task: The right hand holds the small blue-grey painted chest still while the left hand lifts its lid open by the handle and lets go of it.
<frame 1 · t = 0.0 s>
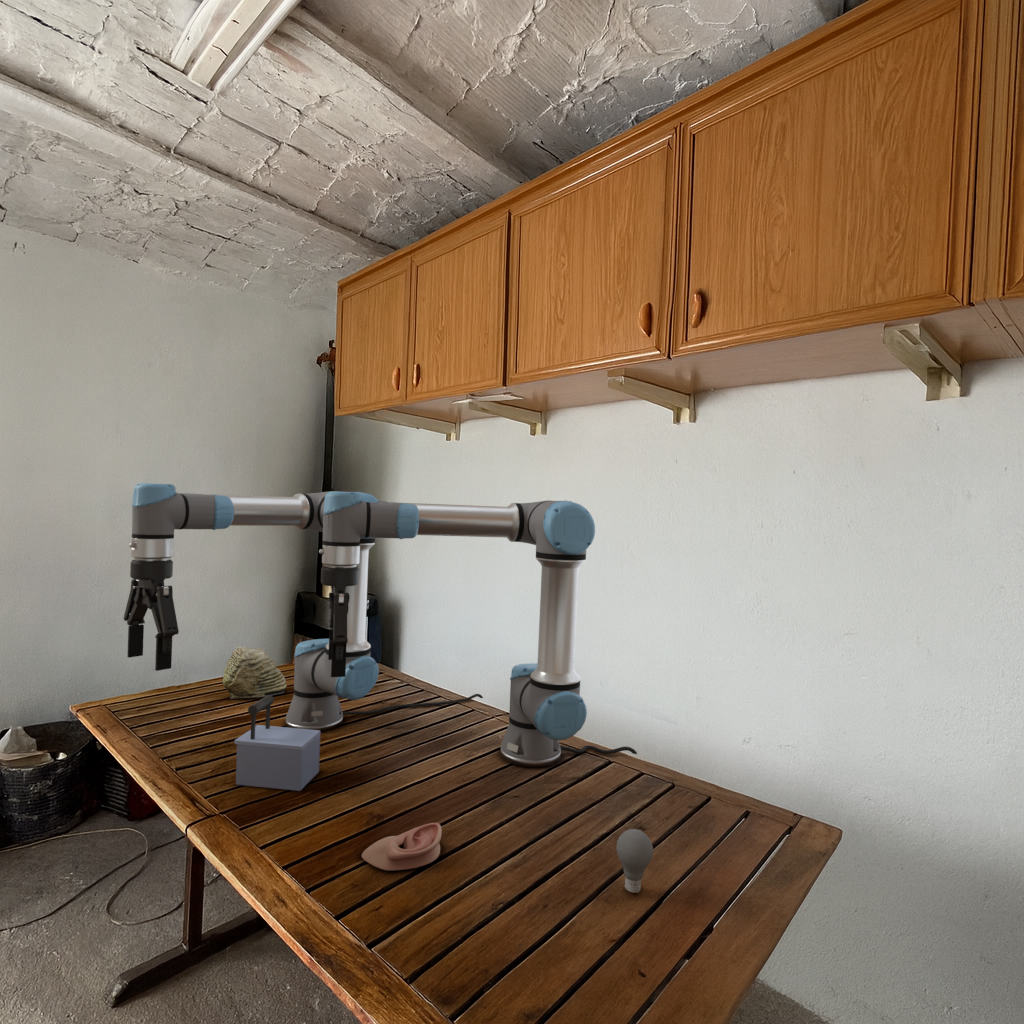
left hand: (148, 662, 129), 28 cm above the table, tool pointing down, fingers open, 13 cm apart
right hand: (336, 667, 132), 28 cm above the table, tool pointing down, fingers open, 13 cm apart
fossil: (254, 694, 198), on the table
lid: (279, 720, 141), point 13 cm above the table, hinge at 0.0°
anatomical model: (402, 854, 114), on the table
light bulb: (632, 891, 106), on the table
chest: (278, 778, 142), on the table
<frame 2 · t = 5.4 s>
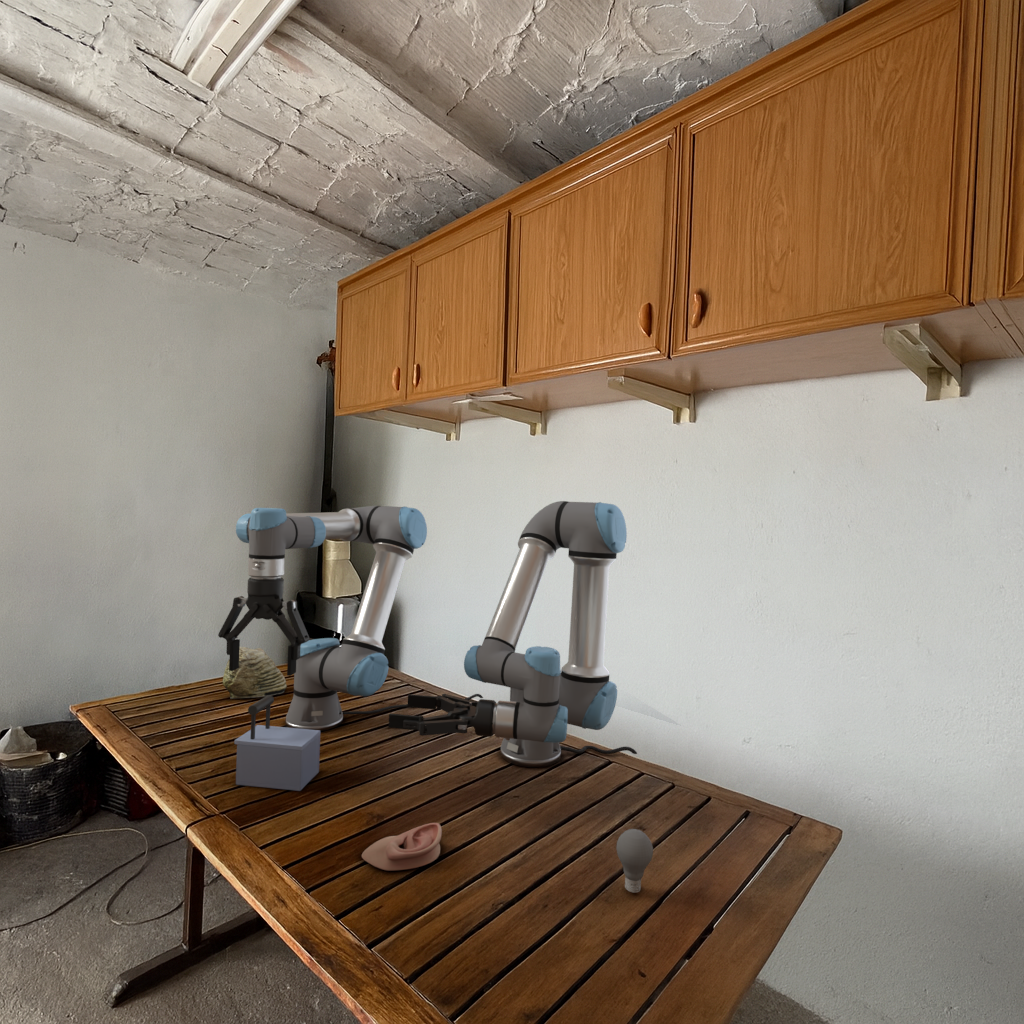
left hand: (262, 671, 142), 24 cm above the table, tool pointing down, fingers open, 13 cm apart
right hand: (399, 710, 138), 18 cm above the table, tool horizontal, fingers open, 13 cm apart
nothing on the table moved.
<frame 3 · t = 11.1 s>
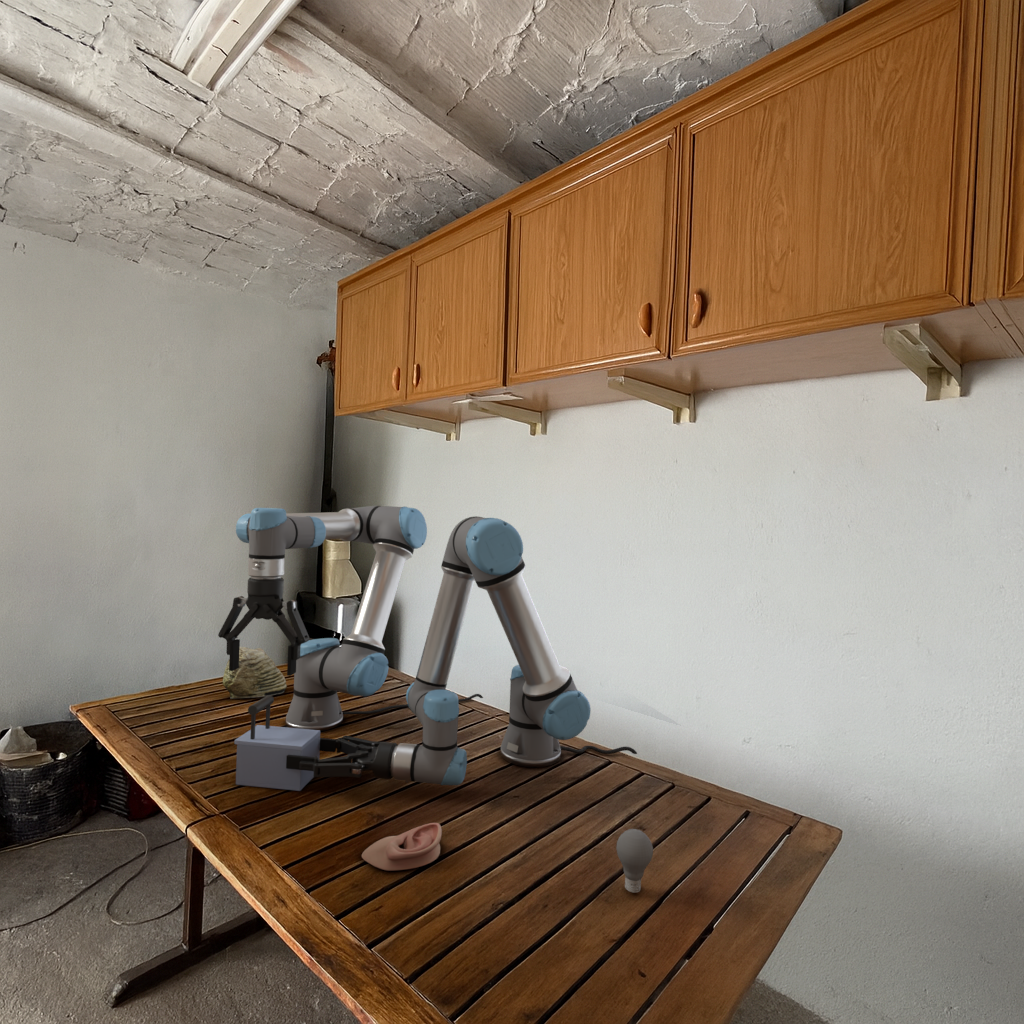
left hand: (262, 671, 142), 24 cm above the table, tool pointing down, fingers open, 13 cm apart
right hand: (298, 752, 141), 6 cm above the table, tool horizontal, fingers closed on chest, 10 cm apart
chest: (278, 778, 142), on the table, touching right hand
everything else where it was.
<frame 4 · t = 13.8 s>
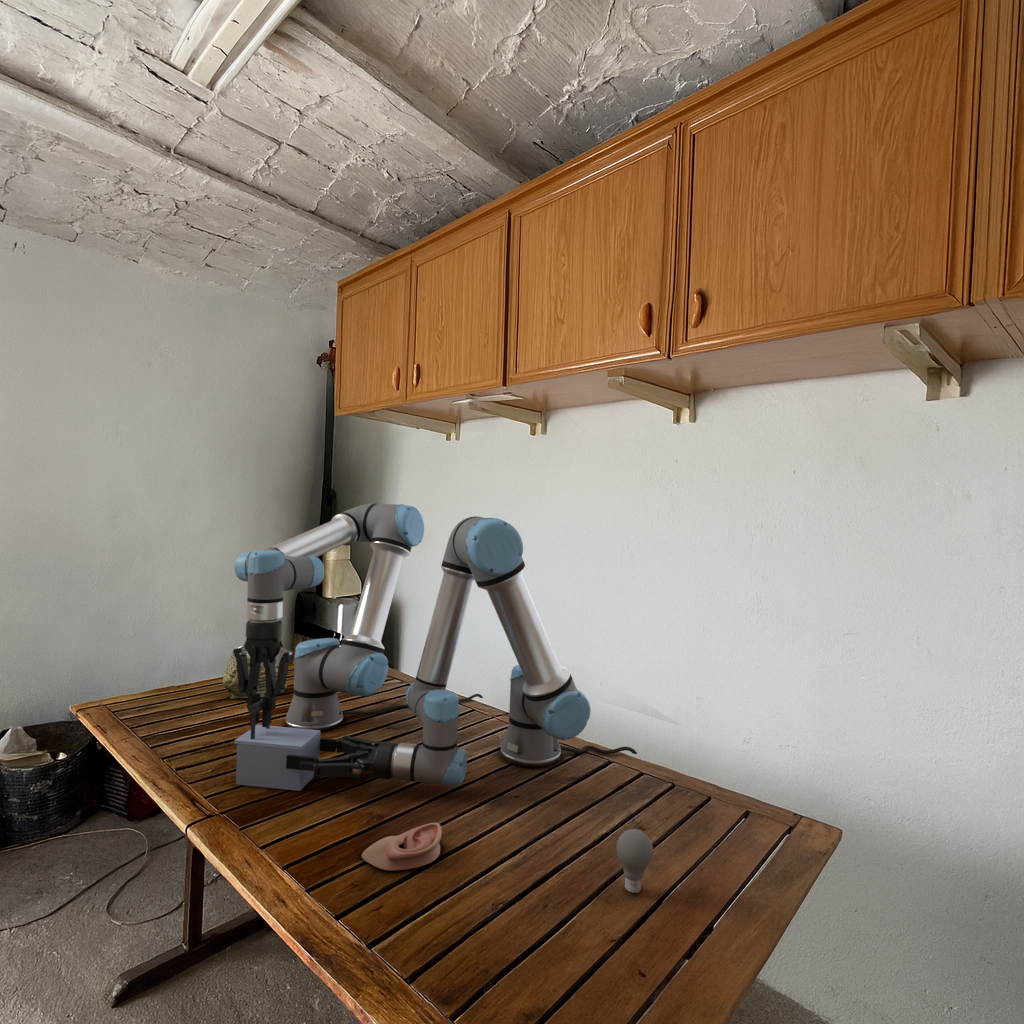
left hand: (260, 724, 142), 12 cm above the table, tool pointing down, fingers closed on lid, 2 cm apart
right hand: (298, 752, 141), 6 cm above the table, tool horizontal, fingers closed on chest, 10 cm apart
lid: (279, 720, 141), point 13 cm above the table, hinge at 0.2°, touching left hand
chest: (278, 778, 142), on the table, touching right hand
everything else where it was.
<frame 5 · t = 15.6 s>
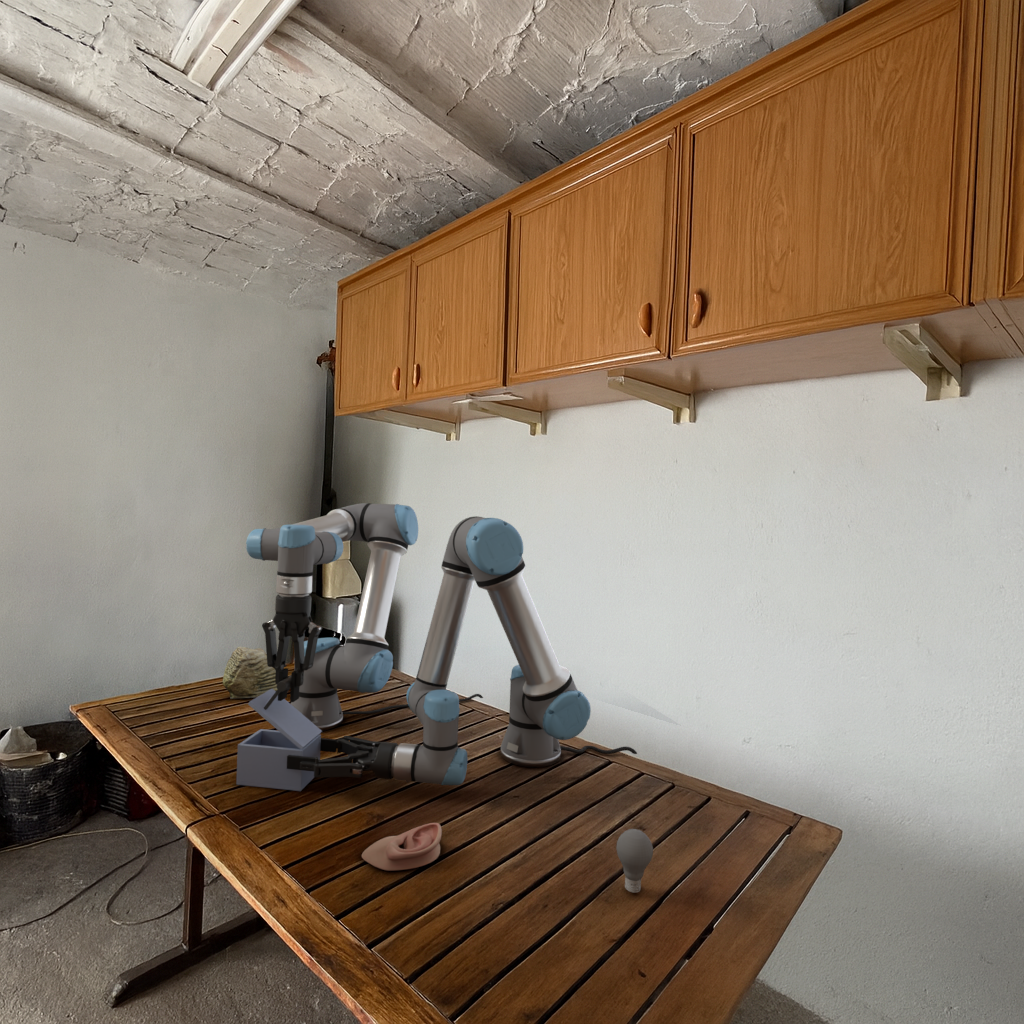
left hand: (288, 699, 141), 18 cm above the table, tool pointing down, fingers closed on lid, 2 cm apart
right hand: (298, 752, 141), 6 cm above the table, tool horizontal, fingers closed on chest, 10 cm apart
lid: (295, 705, 141), point 17 cm above the table, hinge at 35.5°, touching left hand
chest: (279, 778, 142), on the table, touching right hand
everything else where it was.
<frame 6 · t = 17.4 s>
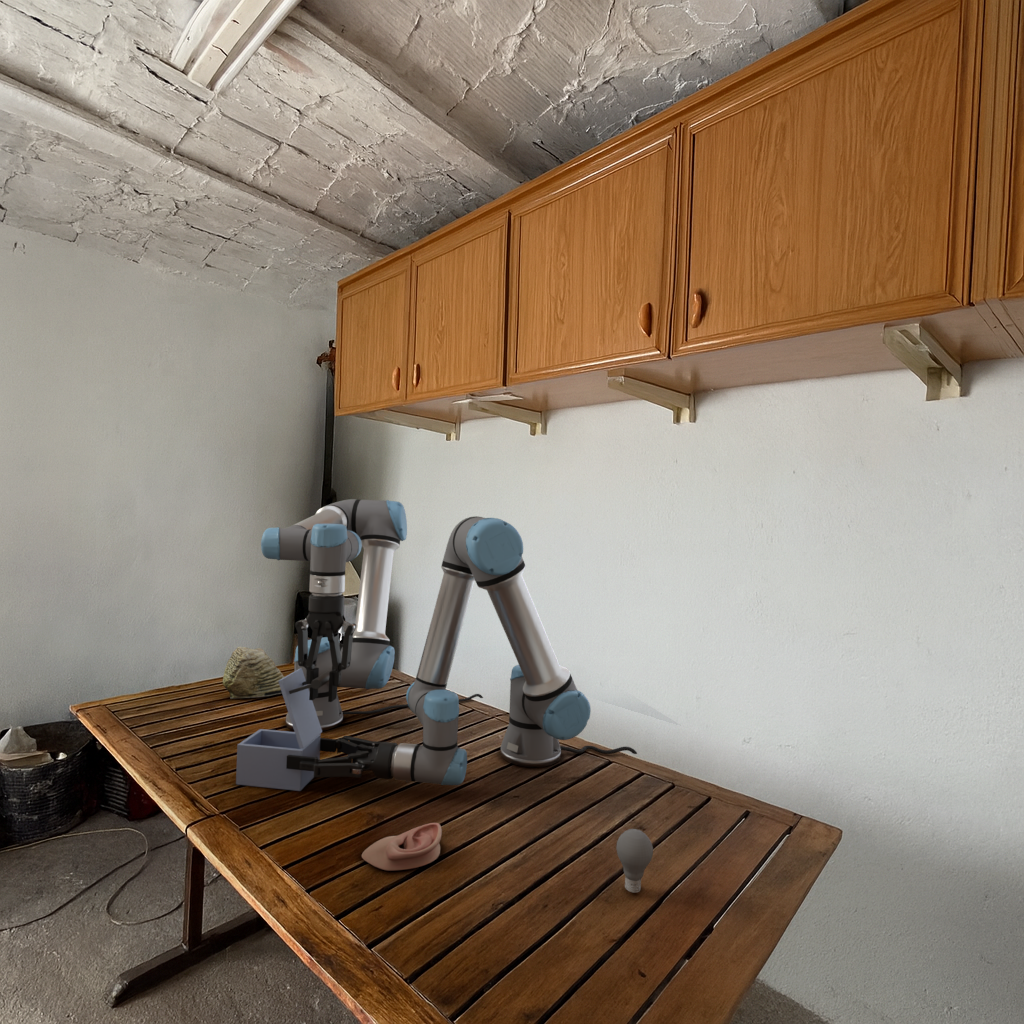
left hand: (322, 698, 140), 19 cm above the table, tool pointing down, fingers open, 4 cm apart
right hand: (298, 752, 141), 6 cm above the table, tool horizontal, fingers closed on chest, 10 cm apart
lid: (316, 702, 140), point 18 cm above the table, hinge at 68.6°
chest: (278, 778, 142), on the table, touching right hand
everything else where it was.
when the right hand's fingers open (6 cm above the table, at t = 21.1 s): chest stays where it is, on the table.
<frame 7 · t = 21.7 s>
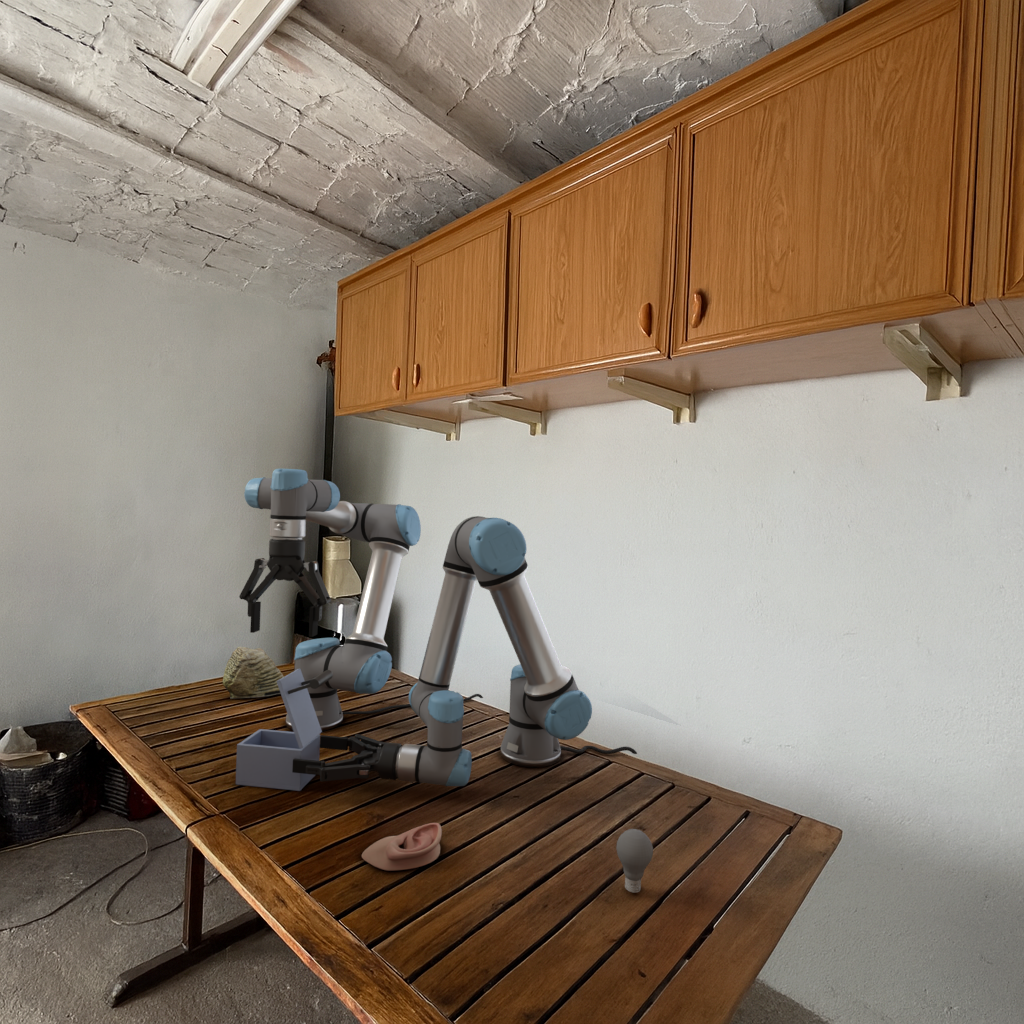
left hand: (283, 633, 141), 32 cm above the table, tool pointing down, fingers open, 13 cm apart
right hand: (307, 752, 141), 6 cm above the table, tool horizontal, fingers open, 13 cm apart
lid: (315, 702, 140), point 18 cm above the table, hinge at 67.8°
chest: (278, 778, 142), on the table
everything else where it was.
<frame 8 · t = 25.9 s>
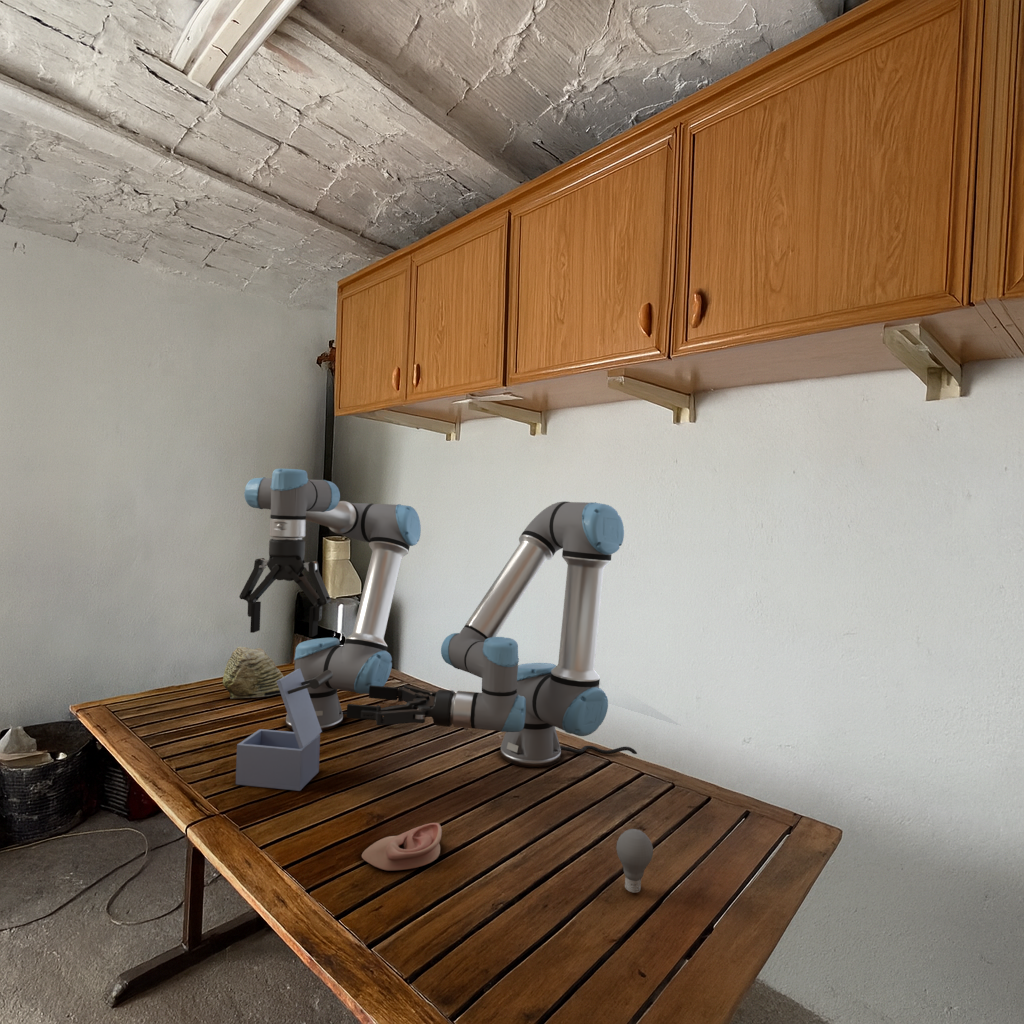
left hand: (283, 633, 141), 32 cm above the table, tool pointing down, fingers open, 13 cm apart
right hand: (358, 700, 139), 19 cm above the table, tool horizontal, fingers open, 13 cm apart
nothing on the table moved.
at the end: lid at +68° (first picture: +0°); the left hand is holding nothing; the right hand is holding nothing; chest tilted 0°; chest never tilted more than 1° during the clip; chest moved 0.1 cm from its start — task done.
